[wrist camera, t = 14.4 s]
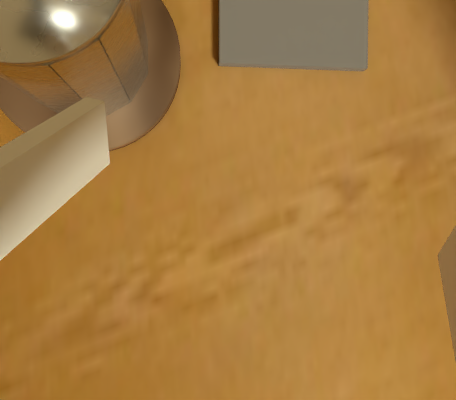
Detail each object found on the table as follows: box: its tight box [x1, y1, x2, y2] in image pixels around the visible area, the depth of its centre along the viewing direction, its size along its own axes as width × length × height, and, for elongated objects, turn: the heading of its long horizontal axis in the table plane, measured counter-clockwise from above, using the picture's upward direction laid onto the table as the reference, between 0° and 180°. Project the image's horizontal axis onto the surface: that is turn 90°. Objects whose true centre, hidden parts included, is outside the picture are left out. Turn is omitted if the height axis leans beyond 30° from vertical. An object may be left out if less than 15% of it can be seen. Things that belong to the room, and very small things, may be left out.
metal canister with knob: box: [0, 0, 148, 116], centre depth 22 cm, size 9×9×13 cm
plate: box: [0, 0, 180, 151], centre depth 29 cm, size 14×14×2 cm
